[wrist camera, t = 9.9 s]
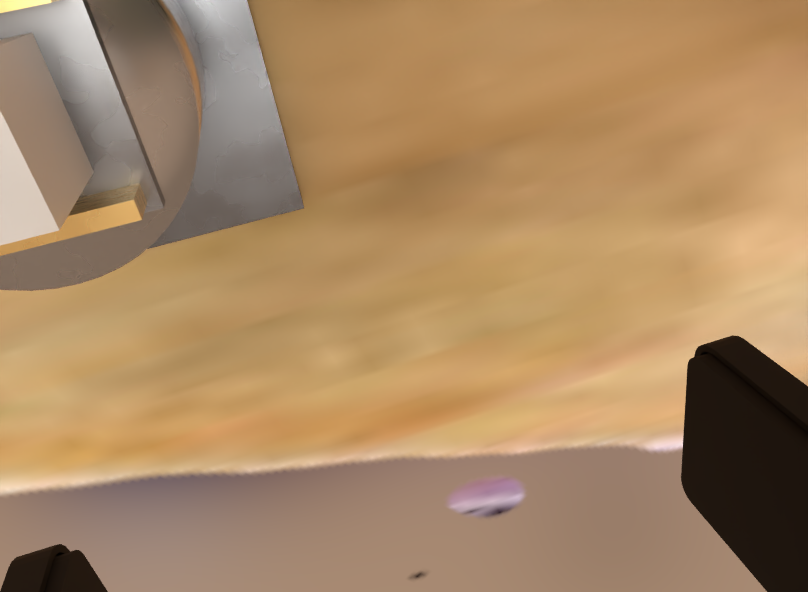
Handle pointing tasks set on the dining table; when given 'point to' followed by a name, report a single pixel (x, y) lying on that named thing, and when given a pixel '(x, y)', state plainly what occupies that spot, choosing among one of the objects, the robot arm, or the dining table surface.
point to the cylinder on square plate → (152, 130)
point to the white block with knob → (35, 146)
